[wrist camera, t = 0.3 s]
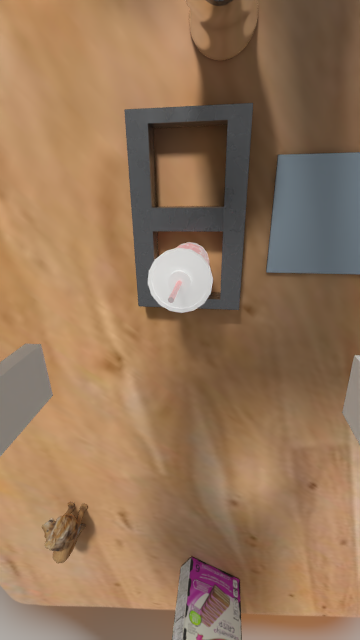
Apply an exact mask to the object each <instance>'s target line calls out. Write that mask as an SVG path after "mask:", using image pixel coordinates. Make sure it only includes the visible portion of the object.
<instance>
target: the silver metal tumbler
mask: <svg viewBox="0 0 360 640" xmlns="http://www.w3.org/2000/svg"><path fill="white" fill-rule="evenodd" d="M184 1H185V2H186V4H187V6H188V7H189V9H190V11H189V26H190V32H191V36H192V39H193V41H194V43H195V45H196V47H197V48H198V50H199V51H200V52H201V53H202V54H203V55H205V56H206V57H208V58H210V59H213V60H227V59H230V58H232V57H234V56H236V55H237V54H239V53H240V52H241V51H242V50H243V49H244V48H245V47H246V45H247V44H248V43H249V41H250V39H251V37H252V35H253V33H254V31H255V27H256V24H257V18H258V0H184Z"/></svg>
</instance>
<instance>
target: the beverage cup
mask: <svg viewBox="0 0 360 640" xmlns="http://www.w3.org/2000/svg"><path fill="white" fill-rule="evenodd" d="M212 283H213V277H212V273H211V269H210V266H209V258H208V254H207V252H206V251H205V249H204V248H203V247H202V246H200V245H199V244H197V243H192V242H187V243H183V244H181V245H179V246H178V247H176V248H175V249H171V250H167V251H165V252H164V253H163V254H161V255H160V256H159V257H158V258H156V259H155V260H154V262H153V264H152V266H151V268H150V269H149V274H148V286H149V289H150V292H151V295H152V296H153V298H154V299H155V300H156V301H157V303H158V304H159V305H161V306H162V307H164V308H166V309H168V310H169V311H174V312H180V313H184V312H189V311H194V310H195V309H197V308H198V307H200V306H201V305H203V304H204V303H205V301H206V300H207V298H208V297H209V295H210V294H211V289H212Z"/></svg>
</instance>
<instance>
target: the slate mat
mask: <svg viewBox="0 0 360 640" xmlns="http://www.w3.org/2000/svg"><path fill="white" fill-rule="evenodd" d="M266 272H272V273H321V274H360V152H357V153H323V154H289V155H278V160H277V170H276V180H275V189H274V199H273V209H272V219H271V229H270V239H269V249H268V259H267V269H266Z"/></svg>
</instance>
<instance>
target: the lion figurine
mask: <svg viewBox="0 0 360 640" xmlns="http://www.w3.org/2000/svg"><path fill="white" fill-rule="evenodd" d="M68 506H69V509H68V511H67V512H66V513H65V514H64V515H63V516H60V517H58V518H57V520H56V521H54V520H53V518H51V519H50V520H49V521H48V522H46V523H45V524H44V525H43V526H42V529H43V530H44V533H45V538H46V542H45V547H46V548H48V549H49V550H52V551H54V552H53V559H54V561H56V563H63V562H65V561H66V560H67V558H68V557H69V556H70V554H71V552H72V551H73V549H74V546H75V544H76V542H77V538H78V536H79V535H80V533H81V531H82V530H83V529H84V528H85V527H86V526H85V525H84V524H81V521H82V518H83V514H84V512H85V510H86V509H87V508H88V506H87V505H86V504H82V505H81V507H80V511H79V514H78V517H77V518H76V519H75V516H74V515H72V514H71V513H72V512H73V510H74V503H73V502H69V503H68Z"/></svg>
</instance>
